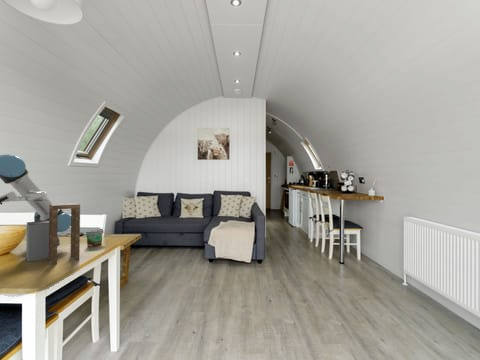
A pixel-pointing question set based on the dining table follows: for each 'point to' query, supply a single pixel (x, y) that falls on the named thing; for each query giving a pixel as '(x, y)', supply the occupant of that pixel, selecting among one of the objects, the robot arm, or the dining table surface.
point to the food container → (94, 238)
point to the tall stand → (54, 228)
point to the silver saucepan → (31, 196)
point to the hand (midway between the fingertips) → (14, 193)
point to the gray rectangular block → (37, 240)
